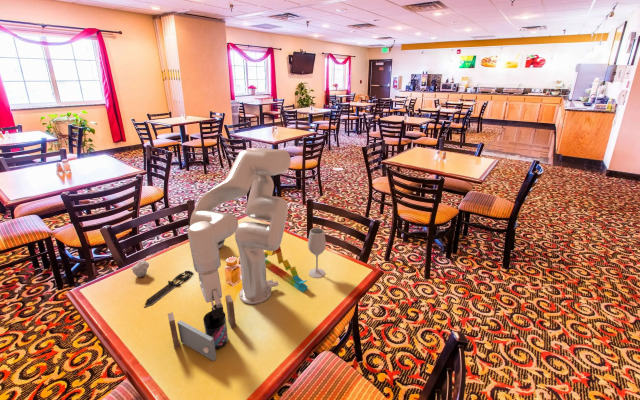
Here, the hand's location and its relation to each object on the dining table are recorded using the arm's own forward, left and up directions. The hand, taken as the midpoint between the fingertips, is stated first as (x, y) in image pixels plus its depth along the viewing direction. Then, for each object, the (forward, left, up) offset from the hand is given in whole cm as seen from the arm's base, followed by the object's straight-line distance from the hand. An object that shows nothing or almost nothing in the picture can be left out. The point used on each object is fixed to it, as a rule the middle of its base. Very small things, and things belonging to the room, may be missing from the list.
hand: (215, 307), depth 102 cm
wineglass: (-48, -19, -14) cm, 53 cm away
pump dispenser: (-14, -65, -14) cm, 67 cm away
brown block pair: (+3, -6, -14) cm, 15 cm away
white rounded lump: (+20, -55, -14) cm, 60 cm away
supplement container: (+1, 0, -14) cm, 14 cm away
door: (+7, +1, -13) cm, 15 cm away
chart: (-33, -25, -14) cm, 44 cm away
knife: (+11, -39, -14) cm, 43 cm away
